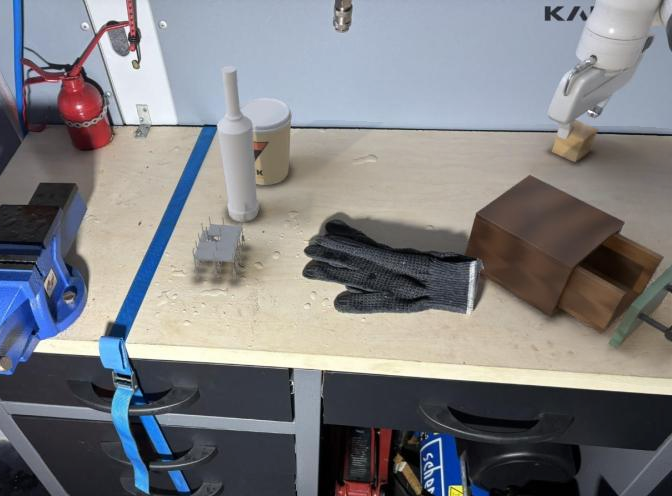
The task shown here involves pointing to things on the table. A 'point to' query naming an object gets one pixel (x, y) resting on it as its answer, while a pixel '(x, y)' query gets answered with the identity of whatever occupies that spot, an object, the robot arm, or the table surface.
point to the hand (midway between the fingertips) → (578, 125)
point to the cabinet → (537, 240)
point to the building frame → (219, 246)
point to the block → (575, 142)
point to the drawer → (617, 288)
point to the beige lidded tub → (269, 138)
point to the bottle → (237, 153)
